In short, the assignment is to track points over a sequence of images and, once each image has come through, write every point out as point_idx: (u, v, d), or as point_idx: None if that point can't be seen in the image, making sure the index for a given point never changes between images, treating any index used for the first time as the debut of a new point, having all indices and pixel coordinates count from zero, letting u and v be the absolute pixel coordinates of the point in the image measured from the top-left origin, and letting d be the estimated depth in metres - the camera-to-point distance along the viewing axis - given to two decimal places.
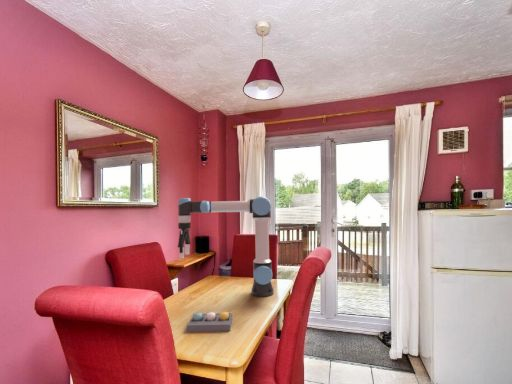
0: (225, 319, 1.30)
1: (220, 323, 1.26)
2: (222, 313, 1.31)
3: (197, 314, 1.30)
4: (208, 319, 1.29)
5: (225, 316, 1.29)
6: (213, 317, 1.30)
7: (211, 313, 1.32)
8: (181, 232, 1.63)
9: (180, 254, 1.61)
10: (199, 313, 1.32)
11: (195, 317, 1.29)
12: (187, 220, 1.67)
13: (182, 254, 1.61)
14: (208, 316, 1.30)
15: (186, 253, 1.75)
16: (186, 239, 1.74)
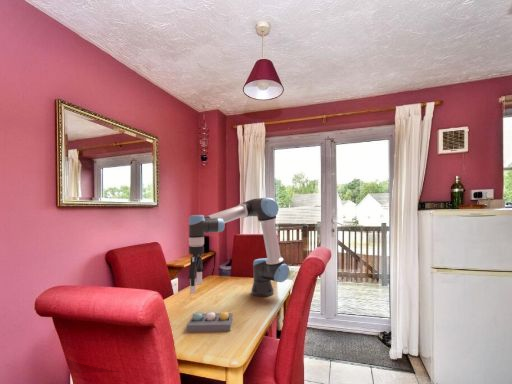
0: (225, 319, 1.30)
1: (220, 323, 1.26)
2: (222, 313, 1.31)
3: (197, 314, 1.30)
4: (208, 319, 1.29)
5: (225, 316, 1.29)
6: (213, 317, 1.30)
7: (211, 313, 1.32)
8: (193, 259, 1.28)
9: (191, 287, 1.27)
10: (199, 313, 1.32)
11: (195, 317, 1.29)
12: (200, 243, 1.32)
13: (194, 288, 1.26)
14: (208, 316, 1.30)
15: (198, 283, 1.40)
16: (198, 266, 1.39)
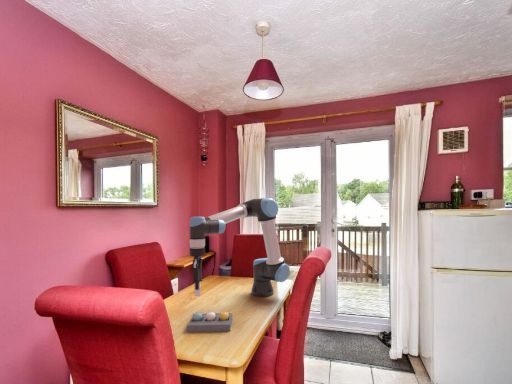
0: (225, 319, 1.30)
1: (220, 323, 1.26)
2: (222, 313, 1.31)
3: (197, 314, 1.30)
4: (208, 319, 1.29)
5: (225, 316, 1.29)
6: (213, 317, 1.30)
7: (211, 313, 1.32)
8: (194, 266, 1.27)
9: (196, 291, 1.31)
10: (199, 313, 1.32)
11: (195, 317, 1.29)
12: (201, 245, 1.31)
13: (198, 291, 1.31)
14: (208, 316, 1.30)
15: None
16: (198, 272, 1.34)
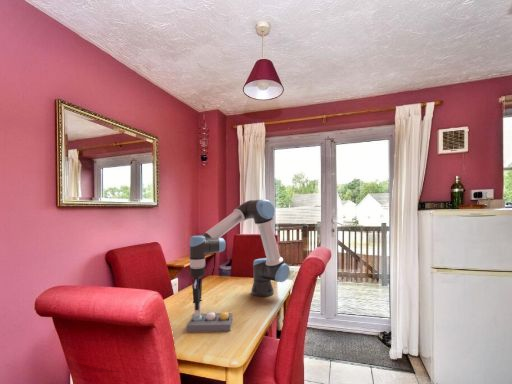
0: (225, 319, 1.30)
1: (220, 323, 1.26)
2: (222, 313, 1.31)
3: (197, 317, 1.30)
4: (208, 319, 1.29)
5: (225, 316, 1.29)
6: (213, 317, 1.30)
7: (211, 313, 1.32)
8: (194, 287, 1.26)
9: (196, 311, 1.31)
10: None
11: (195, 319, 1.29)
12: (201, 265, 1.30)
13: (198, 311, 1.31)
14: (208, 316, 1.30)
15: None
16: (198, 291, 1.33)
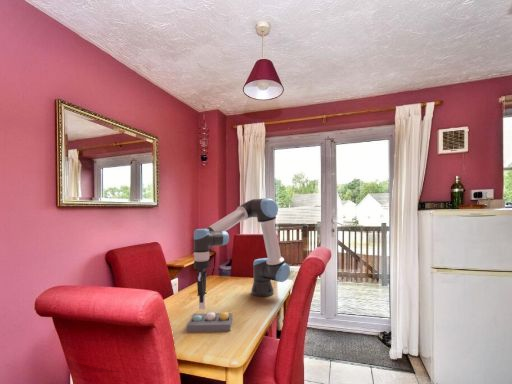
0: (225, 319, 1.30)
1: (220, 323, 1.26)
2: (222, 313, 1.31)
3: (197, 317, 1.30)
4: (208, 319, 1.29)
5: (225, 316, 1.29)
6: (213, 317, 1.30)
7: (211, 313, 1.32)
8: (199, 279, 1.27)
9: (200, 304, 1.31)
10: (199, 316, 1.32)
11: (195, 320, 1.29)
12: (205, 258, 1.31)
13: (203, 304, 1.31)
14: (208, 316, 1.30)
15: None
16: None
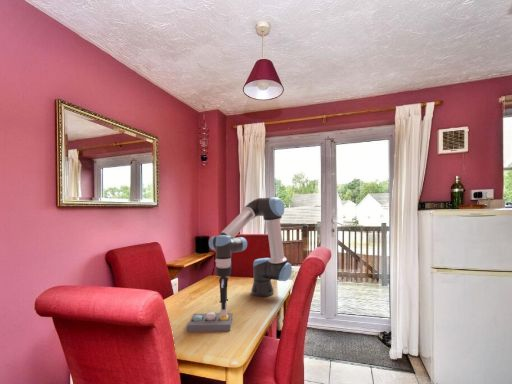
0: None
1: (220, 323, 1.26)
2: (222, 316, 1.31)
3: (197, 317, 1.30)
4: (208, 319, 1.29)
5: (225, 319, 1.29)
6: (213, 317, 1.30)
7: (211, 313, 1.32)
8: (222, 286, 1.27)
9: (222, 311, 1.31)
10: (199, 316, 1.32)
11: (195, 320, 1.29)
12: (228, 265, 1.31)
13: (225, 311, 1.31)
14: (208, 316, 1.30)
15: None
16: None
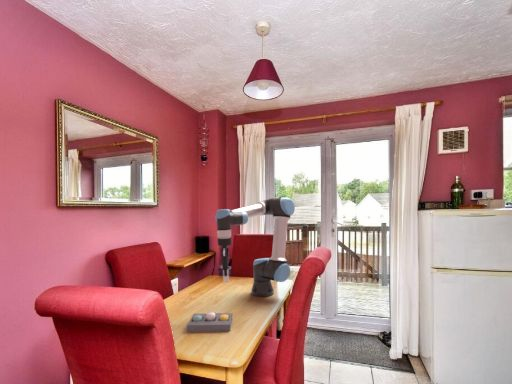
0: None
1: (220, 323, 1.26)
2: (222, 316, 1.31)
3: (197, 317, 1.30)
4: (208, 319, 1.29)
5: (225, 319, 1.29)
6: (213, 317, 1.30)
7: (211, 313, 1.32)
8: (224, 255, 1.39)
9: (224, 277, 1.43)
10: (199, 316, 1.32)
11: (195, 320, 1.29)
12: (228, 235, 1.42)
13: (227, 277, 1.43)
14: (208, 316, 1.30)
15: None
16: None
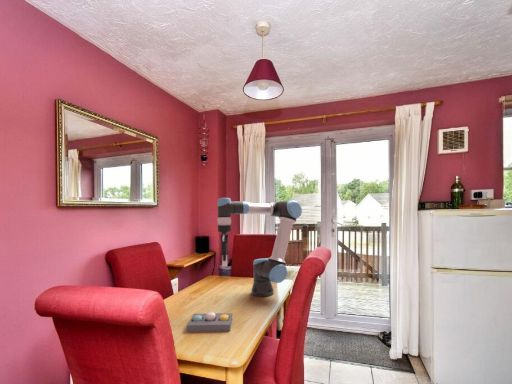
0: None
1: (220, 323, 1.26)
2: (222, 316, 1.31)
3: (197, 317, 1.30)
4: (208, 319, 1.29)
5: (225, 319, 1.29)
6: (213, 317, 1.30)
7: (211, 313, 1.32)
8: (223, 240, 1.47)
9: (223, 262, 1.51)
10: (199, 316, 1.32)
11: (195, 320, 1.29)
12: (228, 222, 1.51)
13: (225, 262, 1.51)
14: (208, 316, 1.30)
15: None
16: None
